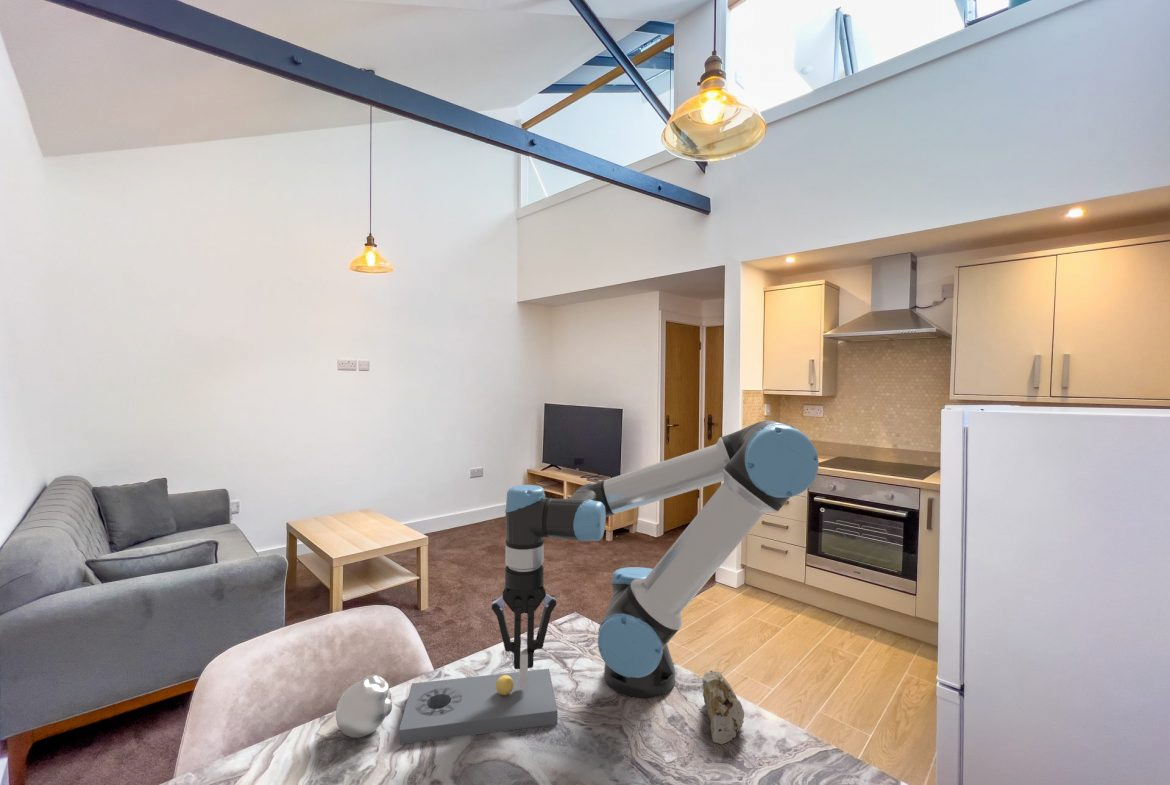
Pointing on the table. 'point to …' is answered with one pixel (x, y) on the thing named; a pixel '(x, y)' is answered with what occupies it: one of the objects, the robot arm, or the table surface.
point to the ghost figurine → (364, 706)
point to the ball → (504, 685)
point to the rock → (721, 707)
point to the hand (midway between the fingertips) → (523, 683)
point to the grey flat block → (476, 707)
